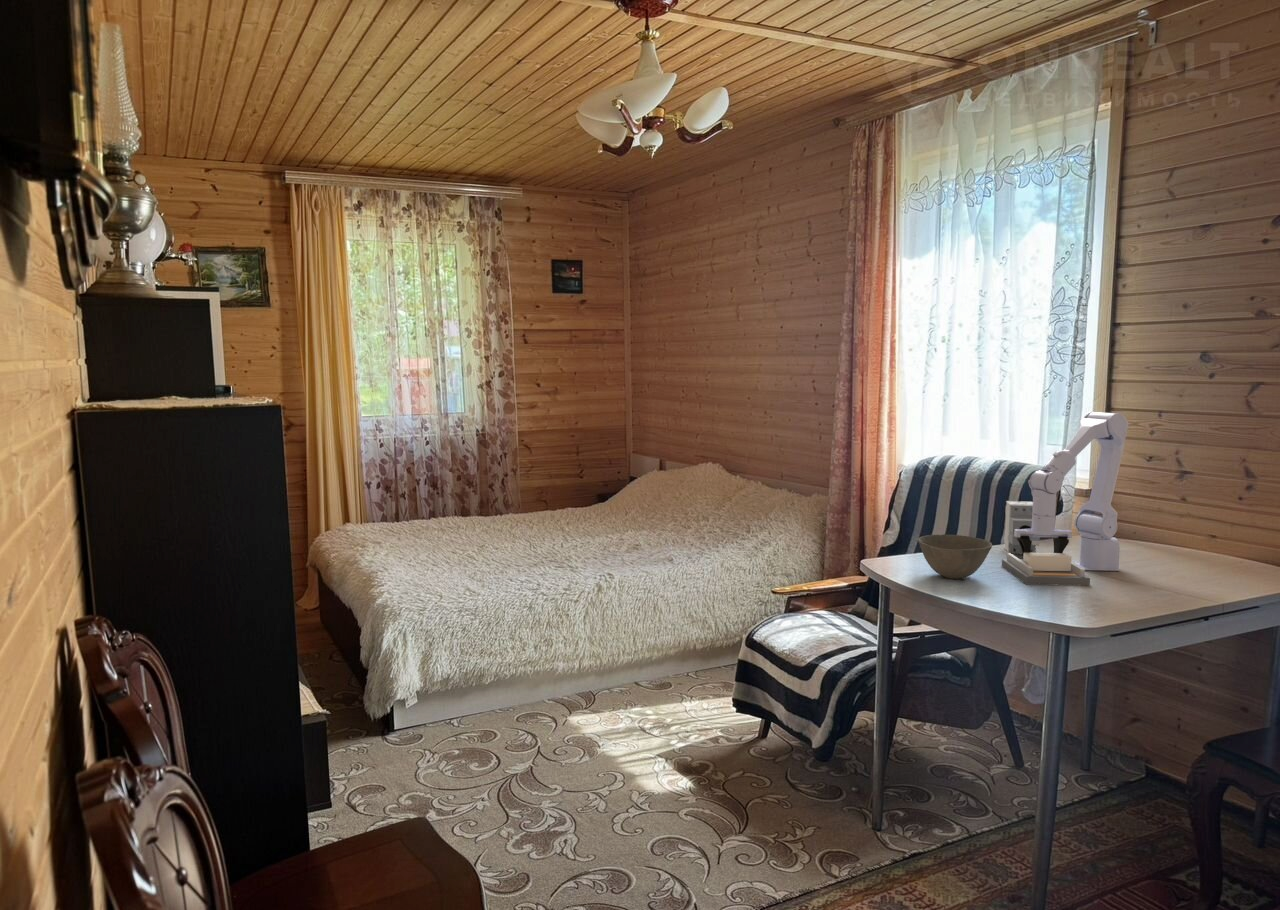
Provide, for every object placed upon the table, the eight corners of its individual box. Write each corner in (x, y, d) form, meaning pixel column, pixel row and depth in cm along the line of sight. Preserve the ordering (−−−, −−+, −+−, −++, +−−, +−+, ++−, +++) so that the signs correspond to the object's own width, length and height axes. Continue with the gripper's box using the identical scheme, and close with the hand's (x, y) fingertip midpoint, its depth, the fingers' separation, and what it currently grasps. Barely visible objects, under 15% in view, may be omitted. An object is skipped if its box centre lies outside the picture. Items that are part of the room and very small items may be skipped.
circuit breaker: (1012, 558, 250) (1014, 508, 248) (1004, 547, 263) (1005, 500, 262) (1040, 559, 248) (1042, 509, 246) (1029, 548, 262) (1031, 501, 260)
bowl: (905, 578, 227) (906, 542, 226) (933, 565, 241) (934, 531, 240) (975, 590, 215) (976, 552, 214) (1000, 576, 229) (1002, 540, 228)
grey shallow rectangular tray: (1060, 567, 238) (1060, 553, 238) (1089, 585, 219) (1090, 570, 218) (1001, 565, 240) (1002, 552, 240) (1025, 584, 220) (1026, 569, 220)
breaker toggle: (1064, 567, 229) (1065, 553, 228) (1070, 571, 225) (1071, 556, 224) (1023, 566, 230) (1023, 552, 229) (1028, 570, 226) (1028, 555, 225)
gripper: (1065, 512, 233) (1063, 560, 234) (1011, 511, 234) (1009, 559, 236) (1076, 516, 226) (1073, 566, 227) (1019, 516, 227) (1017, 565, 229)
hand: (1041, 563), depth 231 cm, fingers open, 7 cm apart
